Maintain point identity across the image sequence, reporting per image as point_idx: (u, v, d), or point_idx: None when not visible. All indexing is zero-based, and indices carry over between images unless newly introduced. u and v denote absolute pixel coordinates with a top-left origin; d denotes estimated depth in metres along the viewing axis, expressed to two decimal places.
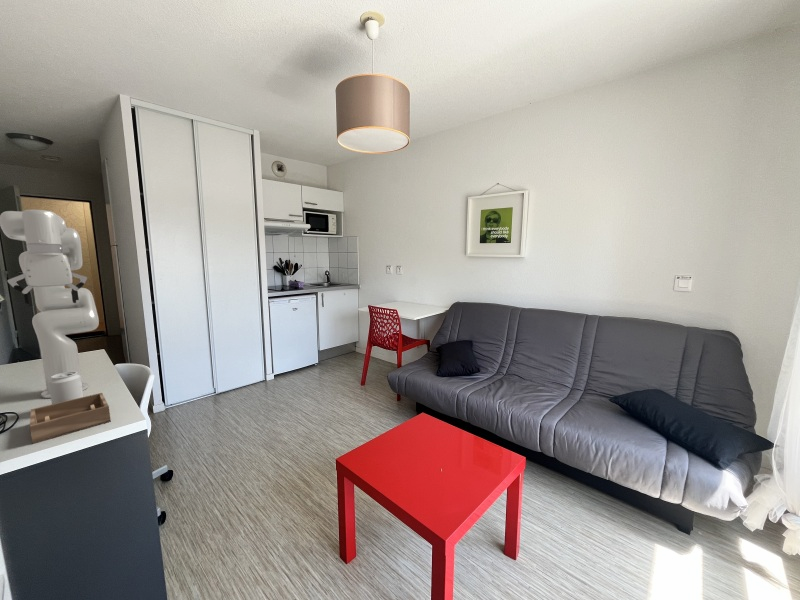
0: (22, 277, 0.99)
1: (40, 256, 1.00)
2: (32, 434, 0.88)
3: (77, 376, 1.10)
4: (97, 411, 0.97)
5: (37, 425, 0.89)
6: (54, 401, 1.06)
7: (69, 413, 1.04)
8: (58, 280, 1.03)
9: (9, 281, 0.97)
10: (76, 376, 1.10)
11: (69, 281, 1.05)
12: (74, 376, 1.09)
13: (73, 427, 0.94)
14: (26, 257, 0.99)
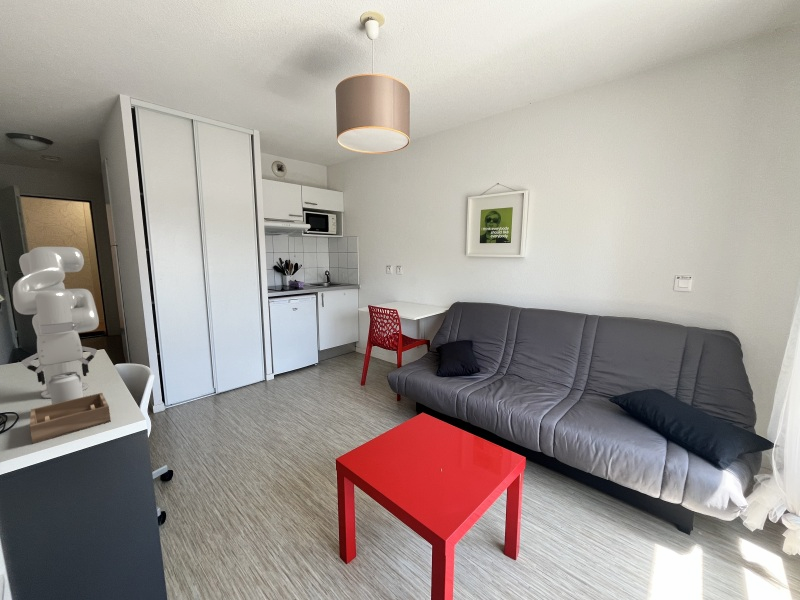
0: (35, 357, 1.03)
1: (52, 336, 1.04)
2: (32, 434, 0.88)
3: (77, 376, 1.10)
4: (97, 411, 0.97)
5: (37, 425, 0.89)
6: (54, 401, 1.06)
7: (69, 413, 1.04)
8: (69, 356, 1.07)
9: (23, 362, 1.01)
10: (76, 376, 1.10)
11: (80, 356, 1.09)
12: (74, 376, 1.09)
13: (73, 427, 0.94)
14: (39, 338, 1.03)
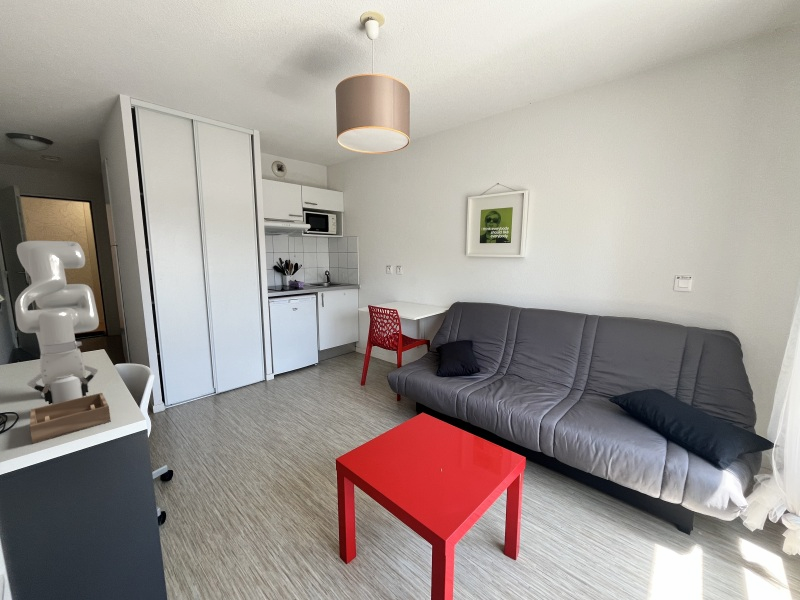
0: (40, 377, 1.04)
1: (55, 355, 1.05)
2: (32, 434, 0.88)
3: None
4: (97, 411, 0.97)
5: (37, 425, 0.89)
6: (54, 401, 1.06)
7: (69, 413, 1.04)
8: None
9: (29, 384, 1.03)
10: None
11: (82, 374, 1.11)
12: None
13: (73, 427, 0.94)
14: (42, 358, 1.04)
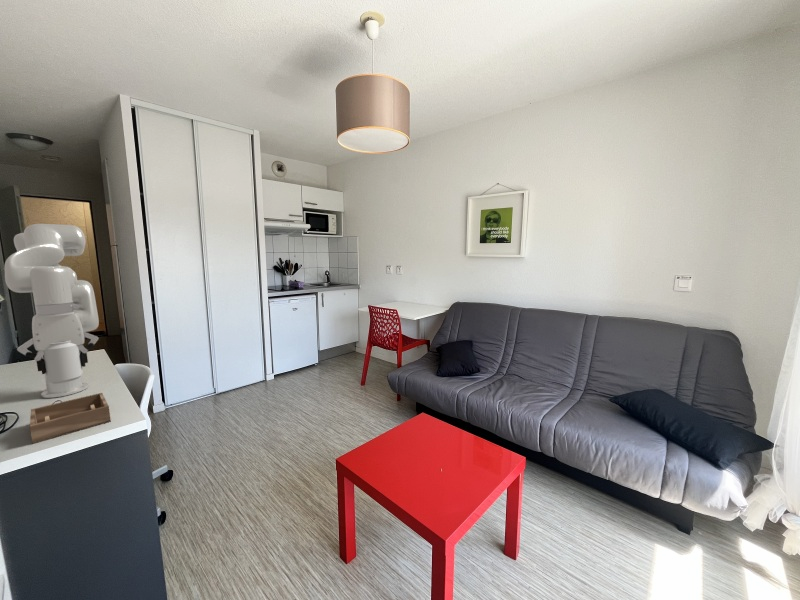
0: (32, 342, 0.90)
1: (50, 318, 0.91)
2: (32, 434, 0.88)
3: None
4: (97, 411, 0.97)
5: (37, 425, 0.89)
6: (48, 370, 0.92)
7: (69, 413, 1.04)
8: None
9: (19, 349, 0.89)
10: None
11: (81, 341, 0.96)
12: (71, 343, 0.95)
13: (73, 427, 0.94)
14: (34, 320, 0.90)
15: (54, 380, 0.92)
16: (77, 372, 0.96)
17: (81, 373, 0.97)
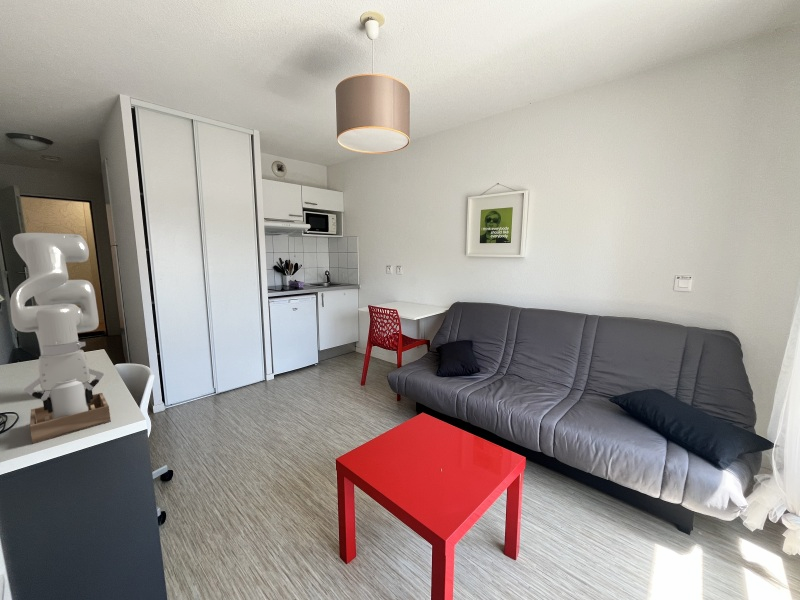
0: (38, 382, 0.91)
1: (56, 357, 0.92)
2: (32, 434, 0.88)
3: None
4: (97, 411, 0.97)
5: (37, 425, 0.89)
6: (54, 409, 0.93)
7: None
8: None
9: (26, 390, 0.90)
10: None
11: (86, 379, 0.98)
12: (77, 381, 0.96)
13: (73, 427, 0.94)
14: (41, 360, 0.91)
15: None
16: (82, 409, 0.97)
17: (86, 410, 0.98)
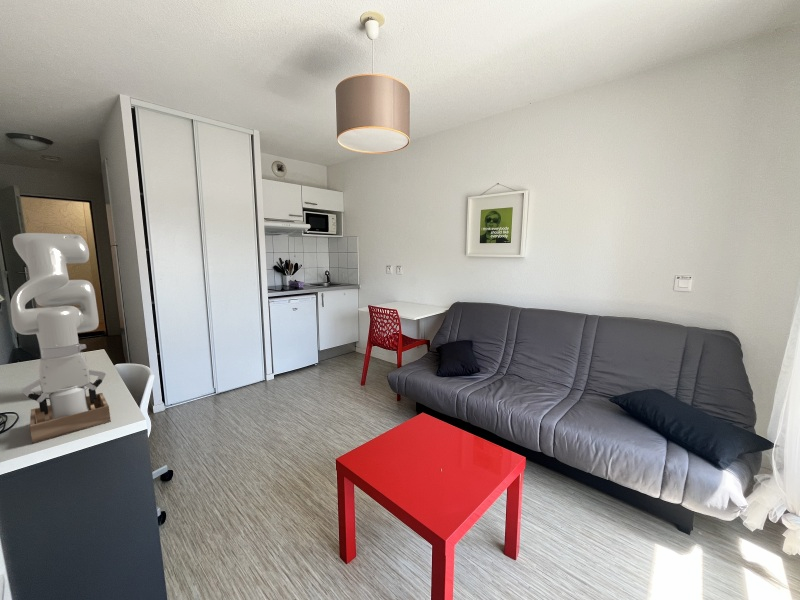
0: (37, 384, 0.91)
1: (56, 360, 0.92)
2: (32, 434, 0.88)
3: (81, 387, 0.97)
4: (97, 411, 0.97)
5: (37, 425, 0.89)
6: (55, 416, 0.93)
7: None
8: (75, 382, 0.96)
9: (23, 391, 0.89)
10: (80, 387, 0.97)
11: (87, 381, 0.98)
12: (78, 388, 0.96)
13: (73, 427, 0.94)
14: (41, 363, 0.91)
15: None
16: None
17: None
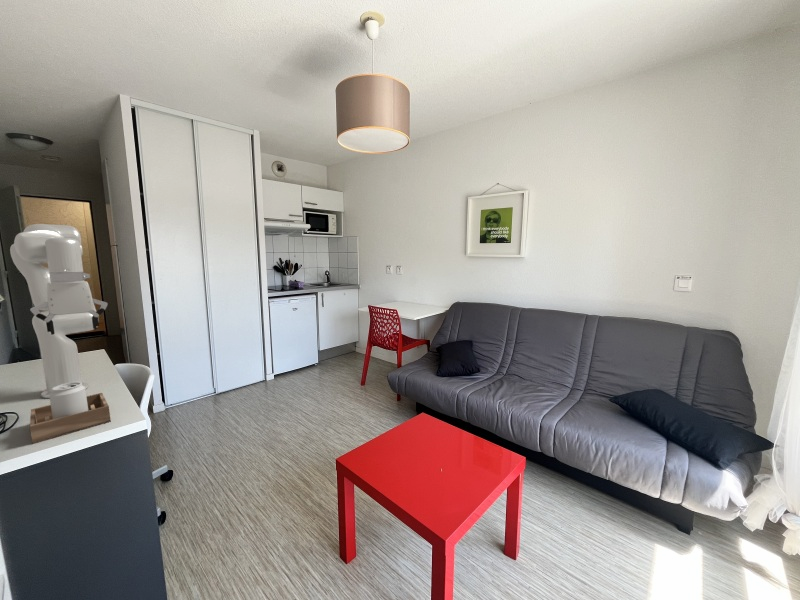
0: (44, 305, 0.99)
1: (62, 285, 1.00)
2: (32, 434, 0.88)
3: (81, 387, 0.97)
4: (97, 411, 0.97)
5: (37, 425, 0.89)
6: (55, 416, 0.93)
7: None
8: (79, 308, 1.03)
9: (32, 310, 0.97)
10: (80, 387, 0.97)
11: (90, 308, 1.05)
12: (78, 388, 0.97)
13: (73, 427, 0.94)
14: (49, 286, 0.98)
15: None
16: None
17: None
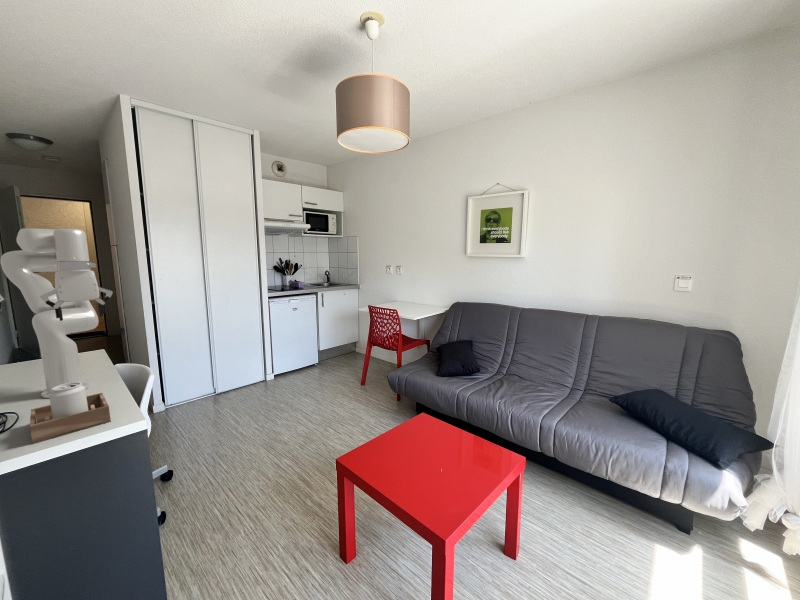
0: (53, 293, 1.04)
1: (70, 273, 1.05)
2: (32, 434, 0.88)
3: (81, 387, 0.97)
4: (97, 411, 0.97)
5: (37, 425, 0.89)
6: (55, 416, 0.93)
7: None
8: (86, 295, 1.08)
9: (42, 297, 1.02)
10: (80, 387, 0.97)
11: (96, 296, 1.10)
12: (78, 388, 0.96)
13: (73, 427, 0.94)
14: (57, 274, 1.04)
15: None
16: None
17: None
